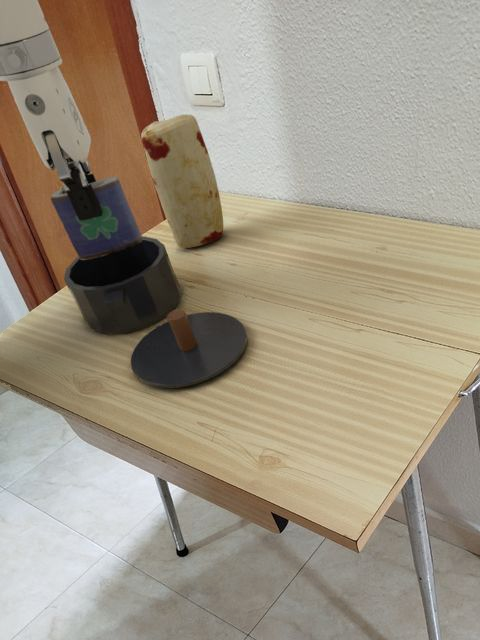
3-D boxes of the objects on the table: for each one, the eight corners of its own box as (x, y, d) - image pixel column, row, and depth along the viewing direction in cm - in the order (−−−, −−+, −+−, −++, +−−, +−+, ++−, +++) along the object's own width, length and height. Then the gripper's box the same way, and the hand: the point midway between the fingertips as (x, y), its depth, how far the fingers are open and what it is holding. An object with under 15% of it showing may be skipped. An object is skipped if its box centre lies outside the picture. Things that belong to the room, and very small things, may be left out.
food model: (183, 258, 98) (139, 132, 84) (171, 244, 103) (128, 122, 89) (236, 238, 101) (202, 112, 87) (223, 225, 105) (188, 103, 91)
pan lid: (132, 404, 73) (112, 366, 68) (134, 335, 84) (117, 298, 80) (255, 372, 73) (243, 332, 69) (241, 308, 84) (230, 270, 80)
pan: (81, 355, 82) (56, 310, 77) (91, 285, 97) (71, 243, 91) (183, 329, 83) (165, 282, 78) (178, 263, 97) (163, 220, 92)
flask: (142, 235, 85) (111, 160, 77) (144, 244, 82) (112, 167, 75) (79, 254, 84) (42, 179, 76) (79, 263, 82) (41, 187, 74)
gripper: (47, 64, 61) (117, 230, 74) (64, 35, 73) (122, 183, 85) (-25, 81, 60) (58, 245, 73) (4, 49, 72) (71, 195, 85)
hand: (92, 210), depth 79 cm, fingers closed on flask, 3 cm apart
